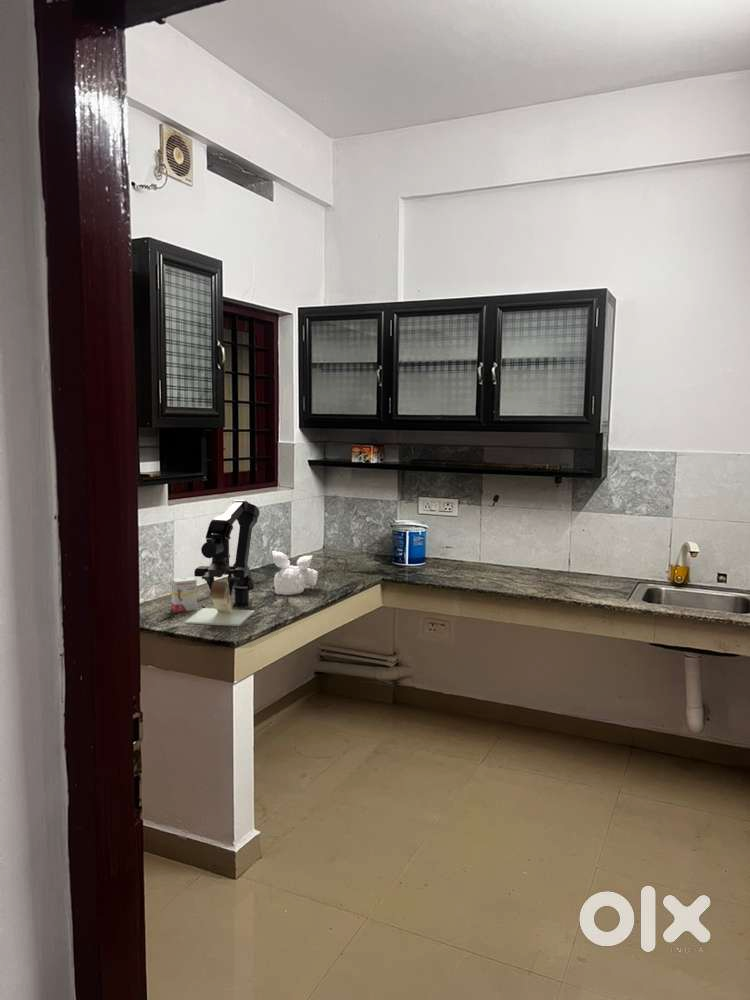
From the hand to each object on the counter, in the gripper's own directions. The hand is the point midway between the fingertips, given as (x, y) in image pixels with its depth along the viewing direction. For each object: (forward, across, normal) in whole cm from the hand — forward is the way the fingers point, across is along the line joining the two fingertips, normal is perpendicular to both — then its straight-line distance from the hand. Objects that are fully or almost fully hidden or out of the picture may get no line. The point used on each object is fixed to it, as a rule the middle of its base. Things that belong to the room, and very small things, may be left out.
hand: (221, 595), depth 270 cm
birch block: (+5, 0, +5) cm, 7 cm away
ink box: (+8, -17, +7) cm, 20 cm away
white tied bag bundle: (+8, +17, +45) cm, 49 cm away
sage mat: (+8, 0, -2) cm, 8 cm away
